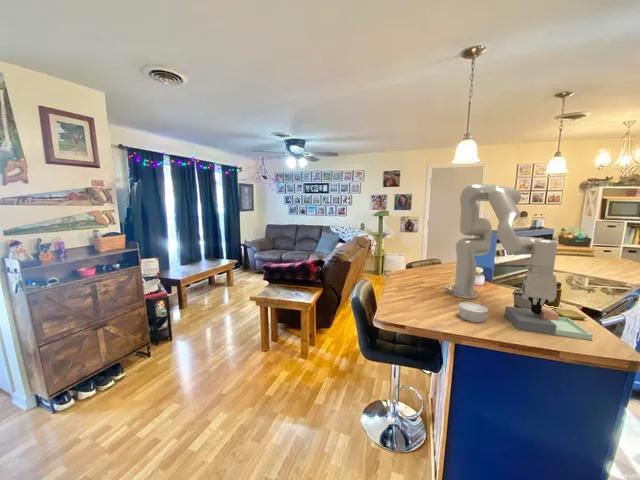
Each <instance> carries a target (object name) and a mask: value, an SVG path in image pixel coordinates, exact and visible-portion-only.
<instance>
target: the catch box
mask: <svg viewBox="0 0 640 480" xmlns="http://www.w3.org/2000/svg"><path fill="white" fill-rule="evenodd" d="M549 320H551V319H549ZM551 321H552V322H553V323H554V324H556V332H555V335H554V336H557V337H564V338H565V337H566V338H571V339H578V338H581V339H580V340H585V339H589V340H588V341H593V333H591V332H590V331H588V330H586V329H585V328H584V327H582V326H581V325H580V324H578V323H576V322H575V320H573V319H570V318H565V317H561V316H559V320H551Z"/></svg>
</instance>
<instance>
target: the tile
mask: <svg viewBox="0 0 640 480" xmlns="http://www.w3.org/2000/svg"><path fill="white" fill-rule="evenodd" d="M539 316H541V317H542V318H543V319H551V320H559V317H560V316H559V314H558V313H556V312H555V311H553V310H552V309H549V308H548V309H547V308H542V310H541V312H540V315H539Z"/></svg>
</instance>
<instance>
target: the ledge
mask: <svg viewBox="0 0 640 480" xmlns="http://www.w3.org/2000/svg"><path fill="white" fill-rule="evenodd" d="M504 316H505V317H507V319H508V321H510V322H511V323H512V325H513V327H515V329H516V330H518V331H522V332H531V333H538V334H544V335H551V336H556V335H555V332H556V324H554V323H553V322H552V321H551V320H549V319H543V318H542V317H541V316H539V315H538V314H534V313H533V312H532V311H531V309H525V308H517V307H514V306H507V305H506V306H505V308H504Z"/></svg>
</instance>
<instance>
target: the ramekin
mask: <svg viewBox="0 0 640 480" xmlns="http://www.w3.org/2000/svg"><path fill="white" fill-rule="evenodd" d="M458 310H459V316H460V318H461V319H464V320H465V321H468V322H471V323H483V322H485V320H486V318H487V314H488V312H489V309H488V308H487V307H486V306H485V305H482V304H479V303H476V302H468V301H465V302H464V301H463V302H459V303H458Z"/></svg>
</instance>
